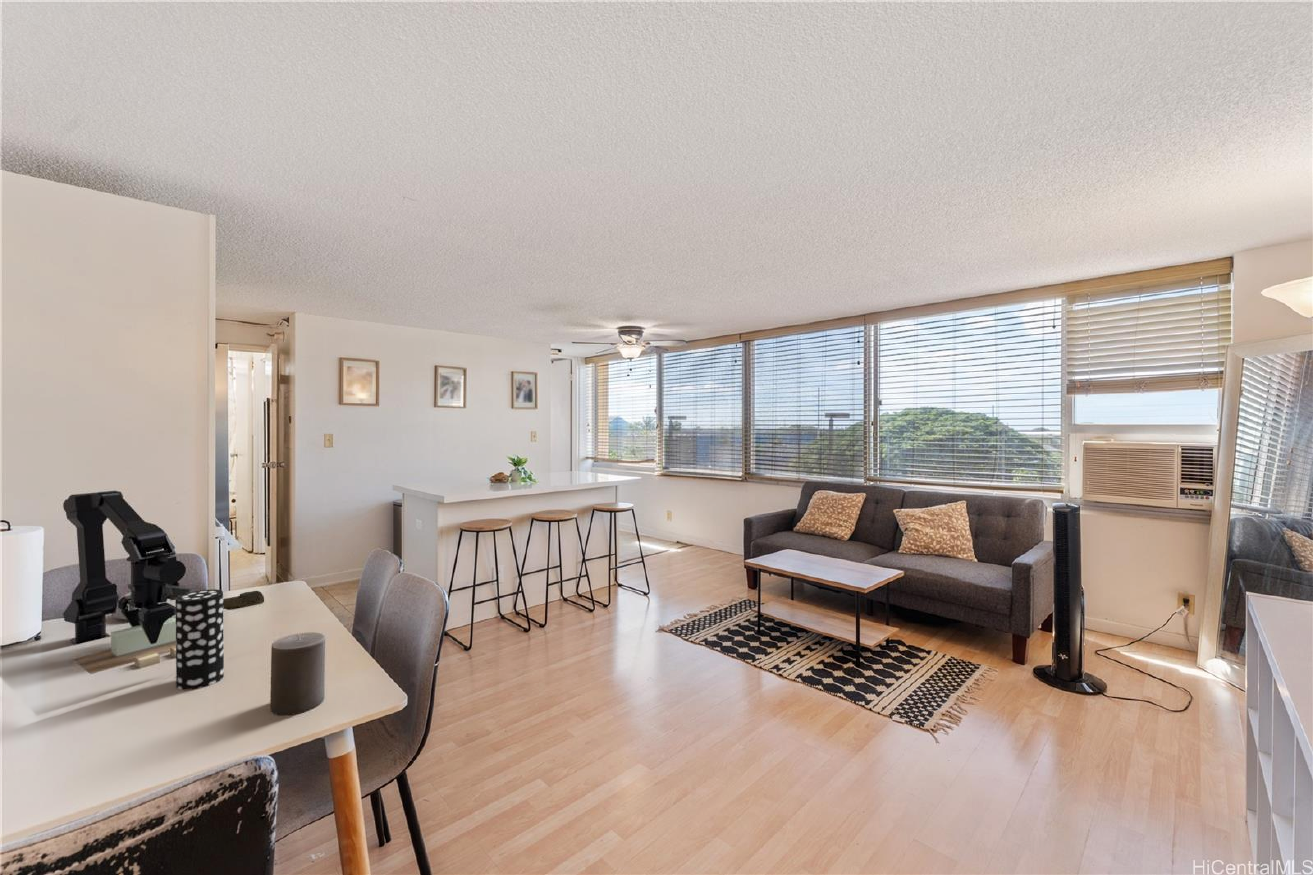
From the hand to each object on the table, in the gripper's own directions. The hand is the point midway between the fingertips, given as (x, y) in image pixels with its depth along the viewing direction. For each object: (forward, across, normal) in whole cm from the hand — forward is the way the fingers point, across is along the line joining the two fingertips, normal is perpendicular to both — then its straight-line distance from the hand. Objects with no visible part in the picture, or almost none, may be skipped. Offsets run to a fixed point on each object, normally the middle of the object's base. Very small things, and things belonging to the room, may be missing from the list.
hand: (147, 639), depth 138 cm
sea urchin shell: (+4, +36, -9) cm, 37 cm away
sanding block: (+2, 0, 0) cm, 2 cm away
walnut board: (+4, -1, 0) cm, 4 cm away
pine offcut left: (+2, -10, +3) cm, 11 cm away
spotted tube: (+4, -29, -1) cm, 29 cm away
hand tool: (+4, +21, -25) cm, 33 cm away
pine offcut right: (+2, -10, -3) cm, 11 cm away
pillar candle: (+4, -58, -8) cm, 59 cm away
